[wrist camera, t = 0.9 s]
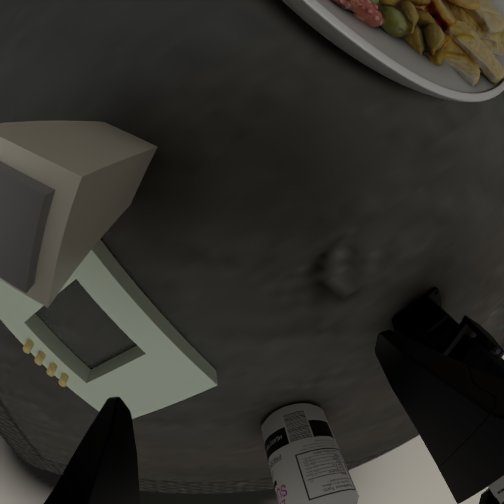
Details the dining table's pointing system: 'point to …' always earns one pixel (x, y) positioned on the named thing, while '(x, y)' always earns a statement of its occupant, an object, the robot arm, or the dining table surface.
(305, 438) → the supplement can
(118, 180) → the grey tall block
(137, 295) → the board
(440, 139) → the dining table surface
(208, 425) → the dining table surface
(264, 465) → the dining table surface
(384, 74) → the bowl
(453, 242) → the dining table surface
